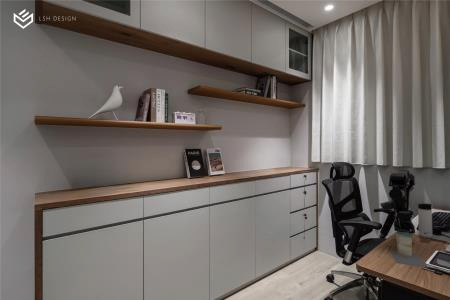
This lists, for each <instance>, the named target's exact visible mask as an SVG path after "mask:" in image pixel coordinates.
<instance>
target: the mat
mask: <svg viewBox="0 0 450 300" xmlns="http://www.w3.org/2000/svg"><path fill="white" fill-rule="evenodd" d="M388 251H389V253H390V254H391V256H392V258H393V259H394V261H395V263H396V264H401V265H407V266H415V267H420V268H429V269H430V266H429V265H428V264H427V263H426V262H425V261H424V259H423V258H422V257H421V255H420V254H418V252H412V257H411V256H404V255H399V253H398V252H397V250H396V249H388Z"/></svg>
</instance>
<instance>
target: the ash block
mask: <svg viewBox="0 0 450 300" xmlns="http://www.w3.org/2000/svg"><path fill="white" fill-rule="evenodd" d="M412 237H413V236H412V234H411V235H410V234H409V233H407V232H398V231H396V239H397V240H396V251H397V252H398V253H399V255H404V256H411V257H412V253H413V246H412V245H413V244H412V243H413V241H412V239H413V238H412Z"/></svg>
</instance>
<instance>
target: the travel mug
mask: <svg viewBox="0 0 450 300" xmlns="http://www.w3.org/2000/svg"><path fill="white" fill-rule="evenodd" d="M432 205H433V204H432V203H418V204H417V212H418V213H417V215H418V216H417V219H418V220H417V221H418V223H417V224H418V236H419V237H421V238H424V239H432V238H433V215H432V213H433V211H432V207H433V206H432Z"/></svg>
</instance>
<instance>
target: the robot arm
mask: <svg viewBox="0 0 450 300" xmlns="http://www.w3.org/2000/svg"><path fill="white" fill-rule="evenodd" d="M388 180H389V182H388V187H391V189H390V190H389V191H388V196H389V197H390V200H389V201H388V200H387V201H383V202H380V203H379V204H380V208H381V209H382V210H383V212H385V211H390V212H391V213H392V214H393V215H394V218H395V219H394V220H393V227H394V229H393V230H394V231H395V232H407V233H409V234H410V235H411V236H412V235H414V234H416V227H415V226H416V225H415V224H414V222H413V219H412V218H413V213H412V212H411V211H410V200H411V198H410V197H411V192H412V191H413V190H414V189H415V188H414V187H415V186H416V178H415V175H413V174H412V173H411V171H410V170H408V169H400V170H398V172H396V173H395V172H391V174H389V179H388ZM395 240H396V241H397V238H395ZM412 245H414V243H413V242H412Z"/></svg>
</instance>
